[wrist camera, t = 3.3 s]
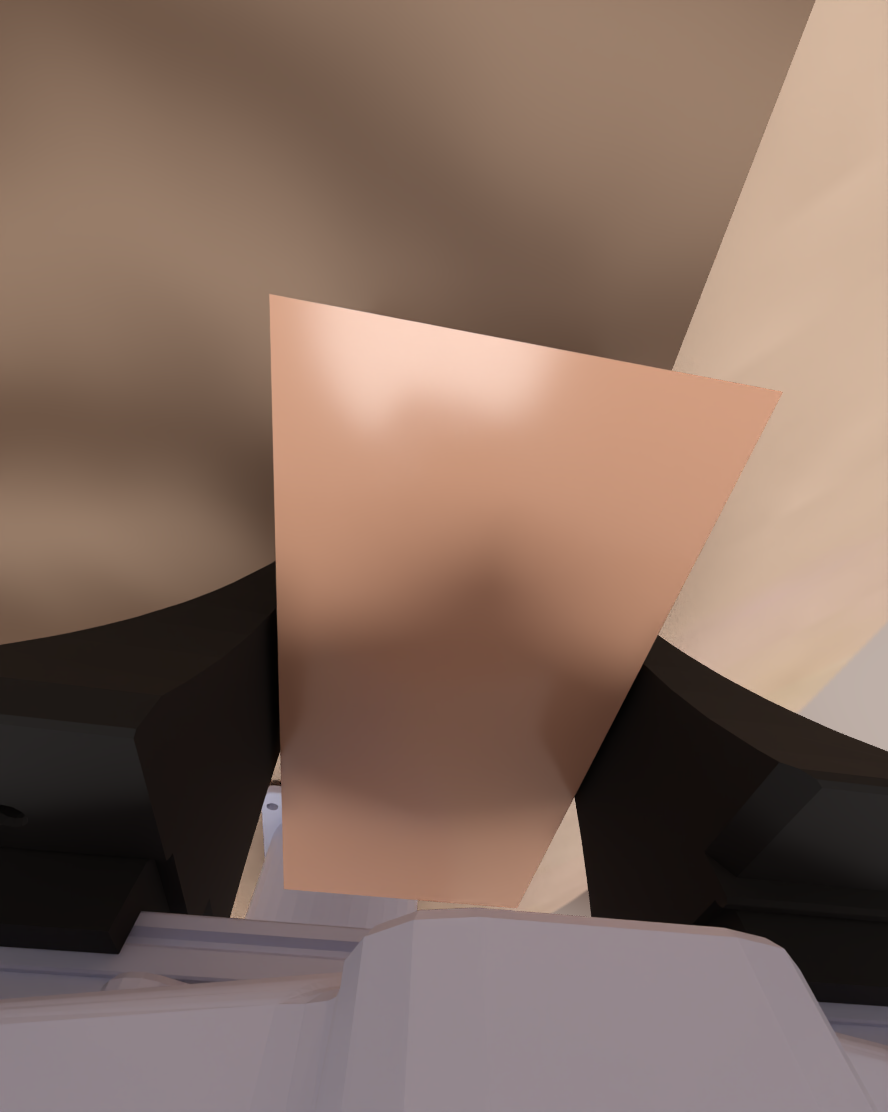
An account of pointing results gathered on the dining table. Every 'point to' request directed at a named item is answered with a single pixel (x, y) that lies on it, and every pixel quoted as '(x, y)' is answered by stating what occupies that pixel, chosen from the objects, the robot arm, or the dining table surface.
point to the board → (322, 235)
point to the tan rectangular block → (469, 584)
